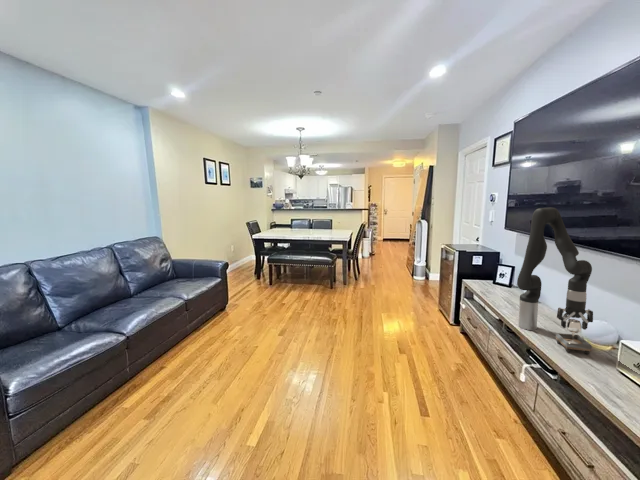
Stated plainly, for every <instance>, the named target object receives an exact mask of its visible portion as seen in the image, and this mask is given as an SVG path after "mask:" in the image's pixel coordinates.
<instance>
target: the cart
mask: <svg viewBox="0 0 640 480" xmlns="http://www.w3.org/2000/svg"><path fill="white" fill-rule="evenodd" d="M555 339H556V343H557V345H562V346H563V347H564V348H565V349H564V350H565V353H570V352H571V350H575V351H584V354H585V355H590V354H591V353H590V352H592V350H593V349H592V348H593V345H592V344H590V342H588V341H587V340H585V339H584V338H583V337H582V336H580V335H579V334H575V335H574V338H573V340H574V341H576V342H578V344H577V343H568V342H567V340H572V333H563V332H556V333H555Z"/></svg>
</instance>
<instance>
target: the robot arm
mask: <svg viewBox="0 0 640 480" xmlns="http://www.w3.org/2000/svg"><path fill="white" fill-rule="evenodd" d="M530 223H531V225H530V232H529V238H528V242H527V245H526V250H525V254H524V258H523V262H522V265H521V269H520V271H519V273H518V277H517V281H516V286H517V288H518V289H519V290H520V291H525V292H523V293H521V294H520V296H519V306H518V307H519V308H518V309H519V310H518V324H517V325H518V327H519V328H521V329H523V330H526V329H527V330H528V331H536V330H537V328H538V317H539V316H538V315H539V314H538V313H539V301H540V298H541V294H542V293H541V292H542V280H541V278H540V276H538V275H537V274H533V272H534V271H535V269H536V268H537V267H538V266H539V265H540V264H541V263H542V262H543V260H544V258H545V257H546V254H547V251H548V244H547V241H546V239H545V235H544V232H545V228H546V225H549V226H550V227H551V229H552V230H553V232H554V245H555V247H556V249H557V251H558V252H559V253H560V256H561V258H562V261H563V262H562V263H563V266H564V269H565V270H566V272H568V274H570V275H573V276H572V277H571V278H569V279H568V282H567V283H568V284H567V291H566V299H565V308H562V307H558V308H557V313H556V314H557V315H556V319H558V320H559V321H560V326H561V327H562V328H563V329H567V327H566V325H567V321H568V319H581V320H582V323H581V330H587V329H588V325H589V323H594V311H593V310H591V309H589V308H588V309H586V304H587V286H588V285H587V284H588V281H589V279H590V277H591V275H592V271H593V267H592V265H591V263H590V262H589V261H588V260H584V259H581V260H578V259H577V256H578V255H579V253H580V252H579V249H578V248H577V247H576V245H575V244H574V242H573V240H572V239H571V237H570V235H569V233H568V230H567V228H566V225H565V222H564V220H563V218H562V216H561V213H560V212H559V210H558V208H556V207H550V206H549V207H539V208H536V209H534V212H533V213H532V217H531V222H530ZM585 314H586V315H587V316H586V317H585Z"/></svg>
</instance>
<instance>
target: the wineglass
mask: <svg viewBox="0 0 640 480" xmlns="http://www.w3.org/2000/svg"><path fill="white" fill-rule="evenodd" d="M566 329H567V331H569V332H571V334H572V340H567V342H568V343H577V344H578V342H576V341H574V340H573V338H574V335H576V334H578V333H580V332H581V331H582V323H581V321H580V320H578V319H576V318H569V319H567V320H566Z"/></svg>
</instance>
